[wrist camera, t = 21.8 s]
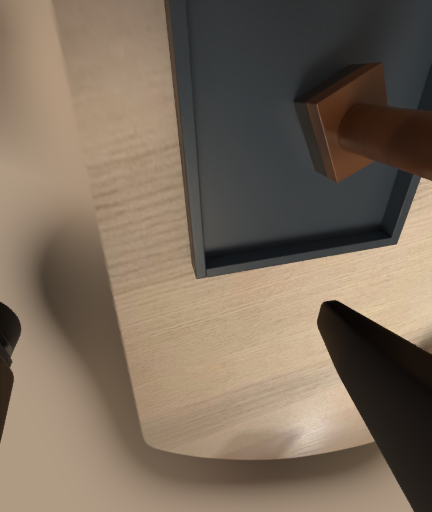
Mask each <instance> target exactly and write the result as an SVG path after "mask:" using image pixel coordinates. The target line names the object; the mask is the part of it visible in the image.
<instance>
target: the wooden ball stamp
mask: <svg viewBox="0 0 432 512" xmlns="http://www.w3.org/2000/svg"><path fill="white" fill-rule="evenodd" d="M294 105H295V108H296V111H297V114H298V118H299V121H300V124H301V127H302V130H303V134H304V137H305V140H306V143H307V146H308V149H309V153H310V156H311V159H312V162H313V165H314V168H315V171H316V172H318V173H320V174H322V175H323V176H325V177H327V178H329V179H331V180H333V181H334V182H336V183H339V182H340V181H342V180H344V179H345V178H347V177H349V176H350V175H352V174H354V173H355V172H357V171H359V170H360V169H362V168H364V167H365V166H367V165H368V164H370V163H372V162H373V161H377V162H379V163H382V164H385V165H388V166H391V167H394V168H397V169H399V170H402V171H405V172H408V173H411V174H414V175H417V176H419V177H422V178H425V179H428V180H431V181H432V111H427V110H418V109H409V108H400V107H391V106H388V102H387V94H386V86H385V78H384V70H383V63H382V62H378V63H367V64H350V65H348V66H347V67H345V68H343V69H342V70H340V71H339V72H337V73H336V74H334V75H333V76H331V77H329V78H328V79H326V80H325V81H323V82H322V83H320V84H319V85H317V86H315V87H314V88H312V89H311V90H309V91H308V92H306V93H305V94H303V95H301V96H300V97H298V98H297V99H295V100H294Z"/></svg>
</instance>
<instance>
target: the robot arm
mask: <svg viewBox="0 0 432 512" xmlns="http://www.w3.org/2000/svg"><path fill="white" fill-rule="evenodd" d="M317 325H318V329H319V331H320V333H321V336H322V338H323V340H324V343H325V345H326V348H327V350H328V352H329V355H330V357H331V359H332V362H333V364H334V366H335V368H336V371H337V373H338V375H339V377H340V378H341V380H342V382H343V384H344V386H345V388H346V389H347V391H348V393H349V395H350V397H351V399H352V400H353V402H354V404H355V406H356V408H357V409H358V411H359V413H360V415H361V417H362V418H363V420H364V422H365V424H366V426H367V427H368V429H369V431H370V433H371V435H372V437H373V438H374V440H375V442H376V444H377V446H378V447H379V449H380V451H381V453H382V455H383V456H384V458H385V460H386V462H387V464H388V465H389V467H390V469H391V471H392V473H393V475H394V476H395V478H396V480H397V482H398V484H399V485H400V487H401V489H402V491H403V493H404V494H405V496H406V498H407V500H408V501H409V503H410V505H411V507H412V509H413V511H414V512H432V354H430V353H428V352H427V351H425V350H423V349H421V348H419V347H418V346H416V345H414V344H412V343H411V342H409V341H407V340H405V339H404V338H402V337H400V336H398V335H397V334H395V333H393V332H391V331H390V330H388V329H386V328H384V327H383V326H381V325H379V324H377V323H376V322H374V321H372V320H370V319H369V318H367V317H365V316H363V315H362V314H360V313H358V312H356V311H355V310H353V309H351V308H349V307H347V306H346V305H344V304H342V303H340V302H339V301H336V300H332V301H326V302H323V303H322V305H321V308H320V312H319V315H318V319H317ZM11 364H12V360H11V358H10V357H9V355H8V354H7V352H6V350H5V349H4V347H3V346H2V344H1V343H0V442H1V437H2V433H3V429H4V424H5V419H6V415H7V410H8V405H9V401H10V396H11V391H12V387H13V382H14V376H13V372H12V371H11V369H10V368H9V367H10V366H11Z"/></svg>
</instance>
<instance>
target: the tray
mask: <svg viewBox="0 0 432 512" xmlns="http://www.w3.org/2000/svg"><path fill="white" fill-rule="evenodd" d="M164 2H165V12H166V21H167V31H168V40H169V50H170V59H171V69H172V78H173V88H174V97H175V107H176V117H177V126H178V136H179V145H180V155H181V164H182V174H183V183H184V193H185V202H186V212H187V221H188V231H189V240H190V250H191V259H192V266H193V269H194V273H195V276H196V279H200V278H206V277H213V276H219V275H225V274H230V273H236V272H242V271H247V270H253V269H259V268H264V267H270V266H276V265H282V264H287V263H293V262H299V261H304V260H310V259H316V258H321V257H327V256H333V255H339V254H344V253H350V252H356V251H361V250H367V249H373V248H378V247H384V246H390V245H395V244H397V242H398V240H399V237H400V234H401V231H402V229H403V226H404V223H405V220H406V218H407V215H408V212H409V209H410V206H411V204H412V201H413V198H414V195H415V193H416V190H417V187H418V184H419V182H420V179H421V177H419V176H417V175H414V174H411V173H408V172H405V171H402V170H399V169H397V168H394V167H391V166H388V165H385V164H382V163H379V162H377V161H373V162H372V163H370V164H368V165H367V166H365V167H364V168H362V169H360V170H359V171H357V172H355V173H354V174H352V175H350V176H349V177H347V178H345V179H344V180H342V181H340V182H339V183H336V182H334V181H333V180H331V179H329V178H327V177H325V176H323V175H322V174H320V173H318V172H316V171H315V168H314V165H313V162H312V159H311V156H310V153H309V149H308V146H307V143H306V140H305V137H304V134H303V130H302V127H301V124H300V121H299V118H298V114H297V111H296V108H295V105H294V100H295V99H297V98H298V97H300V96H301V95H303V94H305V93H306V92H308V91H309V90H311V89H312V88H314V87H315V86H317V85H319V84H320V83H322V82H323V81H325V80H326V79H328V78H329V77H331V76H333V75H334V74H336V73H337V72H339V71H340V70H342V69H343V68H345V67H347V66H348V65H350V64H367V63H378V62H382V63H383V70H384V78H385V86H386V94H387V102H388V106H391V107H400V108H409V109H418V110H427V111H432V0H164Z"/></svg>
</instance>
